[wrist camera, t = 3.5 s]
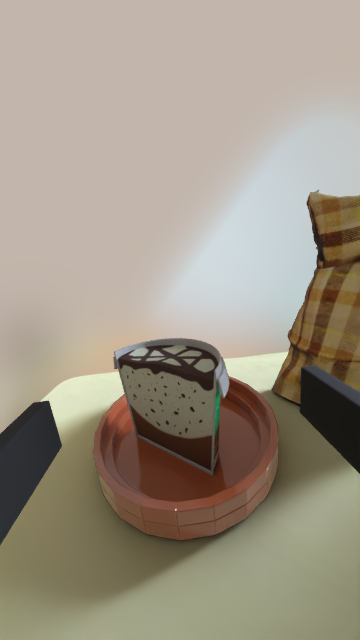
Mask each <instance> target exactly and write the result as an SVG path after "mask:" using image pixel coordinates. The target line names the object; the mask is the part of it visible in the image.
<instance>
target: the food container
mask: <svg viewBox="0 0 360 640" xmlns="http://www.w3.org/2000/svg"><path fill="white" fill-rule="evenodd" d="M114 355H115V357H114V369H117V368H118V370H119V374H120V378H121V381H122V385H123V389H124V393H125V396H126V400H127V404H128V407H129V411H130V415H131V419H132V422H133V426H134V430H135V433H136V436H137V437H139V438H141V439H143V440H144V441H146V442H148V443H150V444H152V445H154V446H156V447H158V448H160V449H162V450H164V451H166V452H168V453H170V454H172V455H174V456H176V457H178V458H180V459H181V460H183V461H185V462H187V463H189V464H191V465H193V466H195V467H197V468H199V469H201V470H203V471H205V472H207V473H209V474H211V475H213V476H214V473H215V471H216V468H217V465H218V447H219V421H220V396H221V395H222V398H225V396H226V394H227V392H228V388H229V377H228V373H227V370H226V366H225V363H224V361H223V358H222V357H221V356H220V353H219V351H218V350H217V349H216V348H215V347H213V346H212V345H210V344H208V343H206V342H202V341H199V340H194V339H183V338H169V339H158V340H151V341H146V342H142V343H138V344H134V345H130V346H127V347H124V348H122V349H119V350H117V351H115V352H114Z"/></svg>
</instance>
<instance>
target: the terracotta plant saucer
mask: <svg viewBox="0 0 360 640" xmlns="http://www.w3.org/2000/svg"><path fill="white" fill-rule="evenodd" d="M228 377H229V376H228ZM93 456H94V460H95V464H96V468H97V472H98V475H99V479H100V483H101V487H102V491H103V494H104V497H105V498H106V499H107V501H108V502H109V504H110V505H111V506H112V508H113V509H114V510H115V512H116V513H117V514H118V516H119V517H120V518H121V519H123V520H125V521H126V522H128V523H129V524H131V525H133V526H134V527H136V528H137V529H139V530H141V531H142V532H144V533H147V534H150V535H155V536H160V537H166V538H171V539H176V540H186V539H192V538H199V537H205V536H211V535H216V534H218V533H220V532H222V531H224V530H226V529H227V528H229V527H231V526H233V525H235V524H237V523H238V522H240V521H242V520H244V519H246V518H247V517H248V516H249V515H250V514H251V513H252V512H253V511H254V509H255V508H256V507H257V506H258V505H259V504H260V503H261V502H262V501H263V499H264V498H265V497H266V496H267V494H268V493H269V490H270V488H271V485H272V483H273V480H274V478H275V475H276V473H277V469H278V424H277V422H276V419H275V416H274V413H273V411H272V408H271V407H270V405H269V404H268V403H267V402H266V400H265V399H264V398H263V397H262V395H261V394H260V393H258V392H257V391H256V390H254V389H253V388H252V387H250V386H249V385H248V384H246V383H244V382H241V381H239V380H237V379H235V378H233V377H229V388H228V392H227V394H226V396H225V398H222V395H221V396H220V421H219V447H218V465H217V468H216V471H215V473H214V476H213V475H211V474H209V473H207V472H205V471H203V470H201V469H199V468H197V467H195V466H193V465H191V464H189V463H187V462H185V461H183V460H181V459H180V458H178V457H176V456H174V455H172V454H170V453H168V452H166V451H164V450H162V449H160V448H158V447H156V446H154V445H152V444H150V443H148V442H146V441H144V440H143V439H141V438H139V437H137V436H136V433H135V430H134V426H133V422H132V419H131V415H130V411H129V407H128V404H127V400H126V396H125V394H124V395H123V396H121V397H120V398H119V399H118V400H117V401H115V402H114V403H113V404H112V406H111V407H110V408H109V409H108V411H107V412H106V413H105V414H104V415H103V417H102V419H101V421H100V423H99V426H98V428H97V430H96V432H95V437H94V445H93Z"/></svg>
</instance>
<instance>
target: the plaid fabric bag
mask: <svg viewBox="0 0 360 640" xmlns="http://www.w3.org/2000/svg"><path fill="white" fill-rule="evenodd" d="M307 206H308V209H309V212H310V218H311V222H312V230H313V234H314V241H315V243H316V244H317V247H316V249H317V250H318V255H317V268H316V269H315V271H314V277H313V279H312V281H311V282H310V284H309V286H308V289H307V292H306V296H305V301H304V303H303V305H302V307H301V309H300V310H299V312H298V314H297V317H296V319H295V322H294V324H293V326H292V329H291V330H290V331H289V333H288V338H289V341H290V343H291V345H290V348H289V353H288V356H287V358H286V359H285V361H284V363H283V365H282V368H281V370H280V372H279V375H278V377H277V379H276V381H275V384H274V386H273V388H272V389H271V390H272V391H274V392H275V393H276V394H278V395H280V396H283V397H285V398H287V399H289V400H291V401H294V402H296V403H298V404H300V392H301V367H306V366H313V365H316V366H317V367H319V368H321V369H322V370H324V371H326V372H327V373H329V374H331V375H332V376H334V377H336V378H337V379H339V380H341V381H342V382H344V383H346V384H347V385H349V386H351V387H352V388H354V389H356V390H357V391H359V392H360V195H359V196H344V197H337V196H331V195H323V194H320V193H319V190H318V191H316V192H311V193H310V195H309V198H308V201H307Z"/></svg>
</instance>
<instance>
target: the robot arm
mask: <svg viewBox="0 0 360 640" xmlns="http://www.w3.org/2000/svg"><path fill="white" fill-rule="evenodd" d="M300 413H301V414H302V415H303V416H304V417H305V418H306V419H307V420H308V421H309V422H310V423H311V424H312V425H313V426H314V427H315V428H316V429H317V430H318V431H319V432H320V433H321V434H322V436H323V437H324V438H325V439H326V440H327V441H328V442H329V443H330V444H331V445H332V446H333V447H334V448H335V449H336V450H337V451H338V452H339V453H340V454H341V455H342V456H343V457H344V458H345V459H346V460H347V461H348V462H349V463H350V464H351V465H352V466H353V467H354V468H355V469H356V470H357V471H358V472H359V474H360V392H359V391H357V390H356V389H354V388H352V387H351V386H349V385H347V384H346V383H344V382H342V381H341V380H339V379H337V378H336V377H334V376H332V375H331V374H329V373H327V372H326V371H324V370H322V369H321V368H319V367H317V366H316V365H313V366H306V367H301V392H300ZM61 447H62V444H61V441H60V437H59V434H58V430H57V427H56V423H55V420H54V417H53V413H52V410H51V406H50V403H49V401H43V402H35V403H33V404H32V405H31V406H29V407H28V408H27V409H26V410H25V411H24V412H23V413H22V414H21V415H20V416H19V417H18V418H17V419H16V420H15V421H13V423H11V424H10V425H9V426H8V427H7V428H6V429H5V430H4V431H3V432H2V433H1V434H0V545H1V543H2V541H3V540H4V538H5V537H6V535H7V533H8V532H9V530H10V529H11V527H12V525H13V524H14V522H15V521H16V519H17V517H18V516H19V514H20V513H21V511H22V509H23V508H24V506H25V505H26V503H27V501H28V500H29V498H30V497H31V495H32V493H33V492H34V490H35V489H36V487H37V485H38V484H39V482H40V481H41V479H42V477H43V476H44V474H45V473H46V471H47V469H48V468H49V466H50V464H51V463H52V461H53V460H54V458H55V456H56V455H57V453H58V452H59V450H60V448H61Z"/></svg>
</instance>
